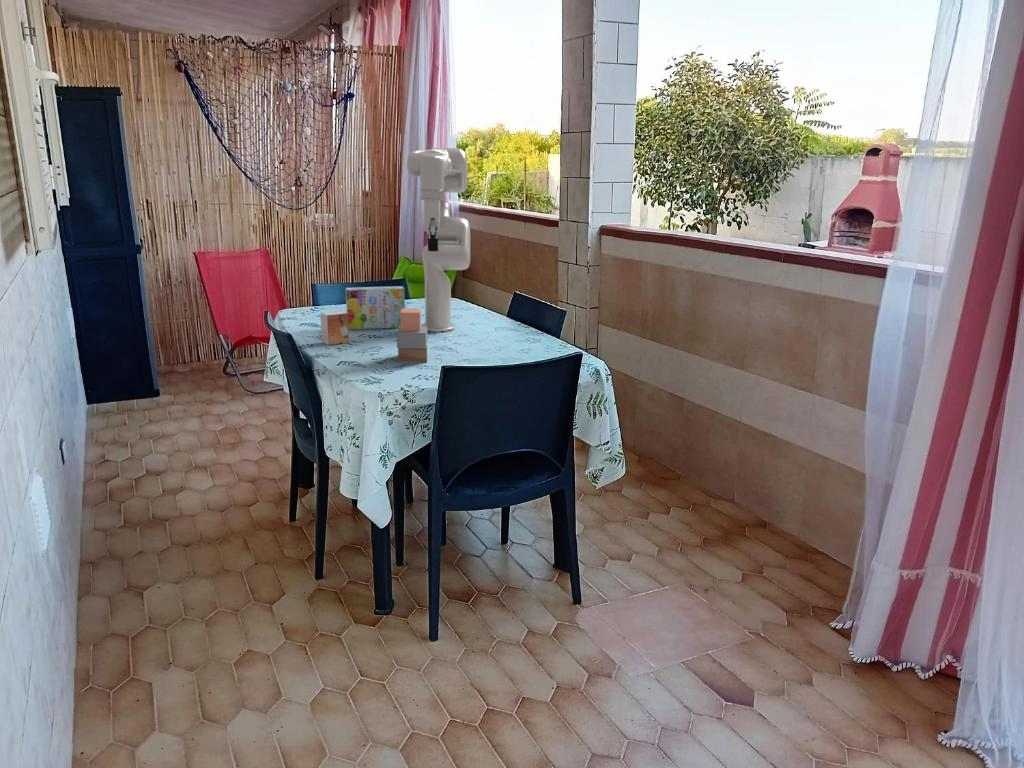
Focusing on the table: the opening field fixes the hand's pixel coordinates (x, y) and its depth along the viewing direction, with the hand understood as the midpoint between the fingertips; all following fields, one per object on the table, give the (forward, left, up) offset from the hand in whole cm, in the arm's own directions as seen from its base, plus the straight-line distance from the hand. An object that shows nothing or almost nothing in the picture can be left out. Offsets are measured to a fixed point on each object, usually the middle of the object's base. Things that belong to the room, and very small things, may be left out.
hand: (432, 248), depth 253 cm
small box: (-9, -33, -34) cm, 48 cm away
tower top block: (+14, -7, -29) cm, 33 cm away
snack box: (-32, -20, -34) cm, 51 cm away
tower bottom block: (+13, -7, -34) cm, 37 cm away
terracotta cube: (+13, -8, -24) cm, 28 cm away
